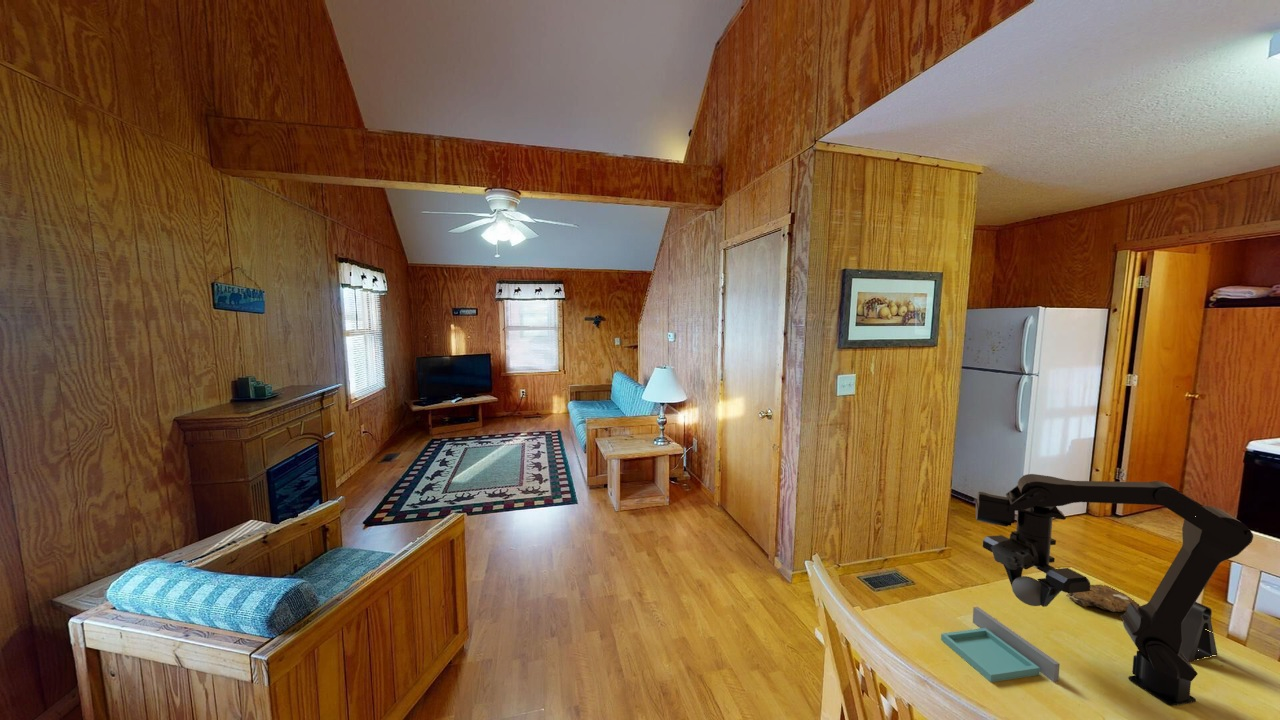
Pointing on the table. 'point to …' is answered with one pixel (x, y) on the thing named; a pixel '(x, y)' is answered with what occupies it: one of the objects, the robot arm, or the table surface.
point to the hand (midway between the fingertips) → (1028, 597)
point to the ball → (1027, 590)
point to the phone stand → (1198, 633)
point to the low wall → (1018, 644)
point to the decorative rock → (1103, 598)
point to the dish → (990, 655)
